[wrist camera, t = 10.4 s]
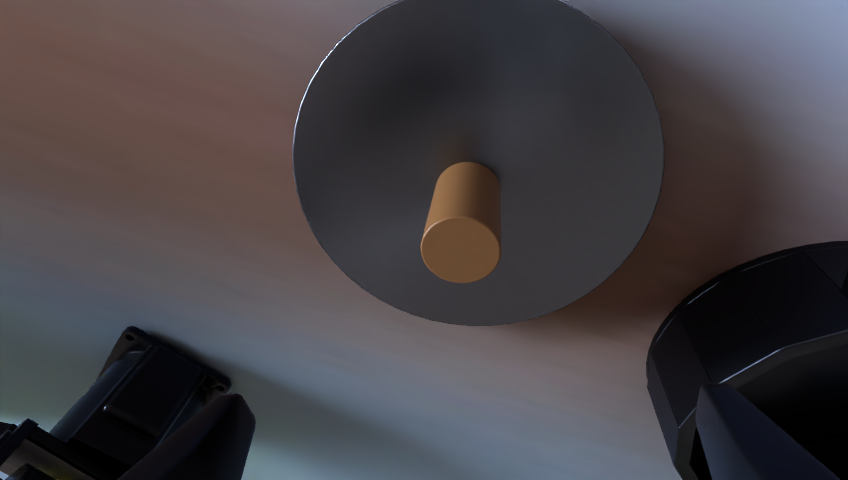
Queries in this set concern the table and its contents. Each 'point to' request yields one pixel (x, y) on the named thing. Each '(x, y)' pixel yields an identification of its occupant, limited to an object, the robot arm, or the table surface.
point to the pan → (761, 353)
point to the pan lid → (478, 157)
